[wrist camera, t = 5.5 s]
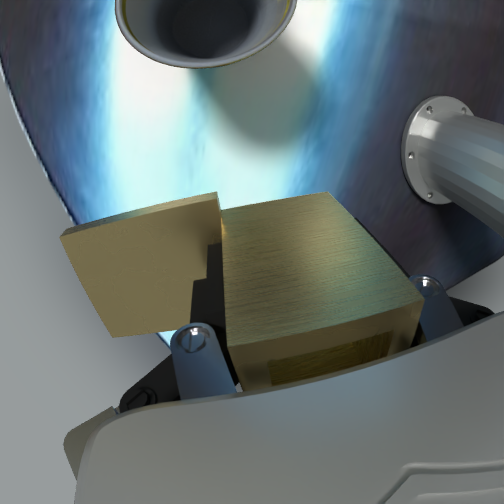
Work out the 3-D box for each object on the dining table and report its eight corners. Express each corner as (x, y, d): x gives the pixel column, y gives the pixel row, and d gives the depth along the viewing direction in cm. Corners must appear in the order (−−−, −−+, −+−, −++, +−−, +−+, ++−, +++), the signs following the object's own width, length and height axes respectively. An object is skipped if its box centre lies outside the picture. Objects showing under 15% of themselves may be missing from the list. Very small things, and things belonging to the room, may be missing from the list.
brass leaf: (326, 173, 11) (432, 269, 5) (329, 290, 14) (385, 408, 8) (66, 228, 11) (-17, 341, 5) (115, 327, 14) (85, 443, 8)
